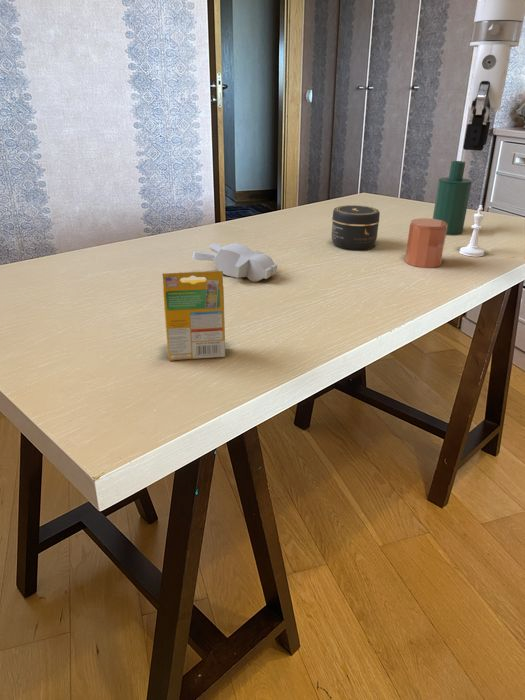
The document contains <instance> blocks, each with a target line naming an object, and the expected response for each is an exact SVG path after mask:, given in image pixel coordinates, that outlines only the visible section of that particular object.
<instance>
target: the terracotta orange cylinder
mask: <svg viewBox="0 0 525 700" xmlns="http://www.w3.org/2000/svg"><path fill="white" fill-rule="evenodd" d="M447 225H448V224H447V223H446V222H445V221H442V220H437V219H433V218H429V217H427V218H426V217H420V218H413V219H411V220H410V224H409V228H408V237H407V244H406V251H405V257H404V262H405V263H406V264H407V265H409V266H413V267H416V268H423V269H424V268H425V269H430V268H431V269H433V268H434V269H435V268H438V267H441V265H442V261H443V260H442V259H443V255H444V249H445V243H446V239H447V235H446V232H447Z"/></svg>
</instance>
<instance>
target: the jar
mask: <svg viewBox="0 0 525 700" xmlns="http://www.w3.org/2000/svg"><path fill="white" fill-rule="evenodd" d="M380 214H381V212H380V210H379V209H377V208H375V207H372V206H366V205H355V204H354V205H353V204H352V205H340V206H337V207H334V208H333V211H332V216H331V217H332V218H331V220H332V224H331V240H332V243H333V246H335V247H337V248H338V249H342V250H348V251H366V250H369V249H372V248H373V247H374V246H375V244H376V242H377V239H378V233H379V231H378V230H379V223H380V217H381V215H380Z"/></svg>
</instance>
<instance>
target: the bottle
mask: <svg viewBox="0 0 525 700" xmlns="http://www.w3.org/2000/svg"><path fill="white" fill-rule="evenodd" d="M465 167H466V161H464V160H463V161H462V160H452V161H451V163H450V167H449V175H448V176H447V177H440V178H438V182H437V189H436V194H435V195H436V197H435V202H434V209H433V212H432V213H433V214H432V219H437V220H442V221H445V222H446V223H447V224H448V225H447V232H446V236H458V235H459V236H460V235H462V234H463V231H464V227H465V220H466V215H467V210H468V204H469V199H470V194H471V188H472V185H473V184H472V183H473V180H471V179H470V178H464V173H465Z"/></svg>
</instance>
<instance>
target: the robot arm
mask: <svg viewBox="0 0 525 700" xmlns="http://www.w3.org/2000/svg"><path fill="white" fill-rule="evenodd" d="M474 13H475V14H474V20H473V26H472V31H471V37H470V42H469V47H471V48H476V51H475V57H474V63H473V69H472V75H471V81H470V89H469V97H468V107H467V109H468V111H470V116H469V119H468V123H467V124H466V129H465V136H464V141H463V150H464V151H479V152H481V151H483V150H484V147H485V145H486V144H487V140H488V136H489V132H490V131H489V130H490V126H491V121H490V119H491V113H492V110H493V113H497V112H498V111H500V109H501V104H502V101H503V100H502V99H503V96H504V95H503V94H504V91H505V86H506V79H507V75H508V70H509V64H510V56H511V51H512V50H511V49H512V48H516V47H519V46H520V45H519V44H520V40H521V34H522V30H523V25H524V22H525V21H524V20H525V0H477V1H476V8H475V12H474Z"/></svg>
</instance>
